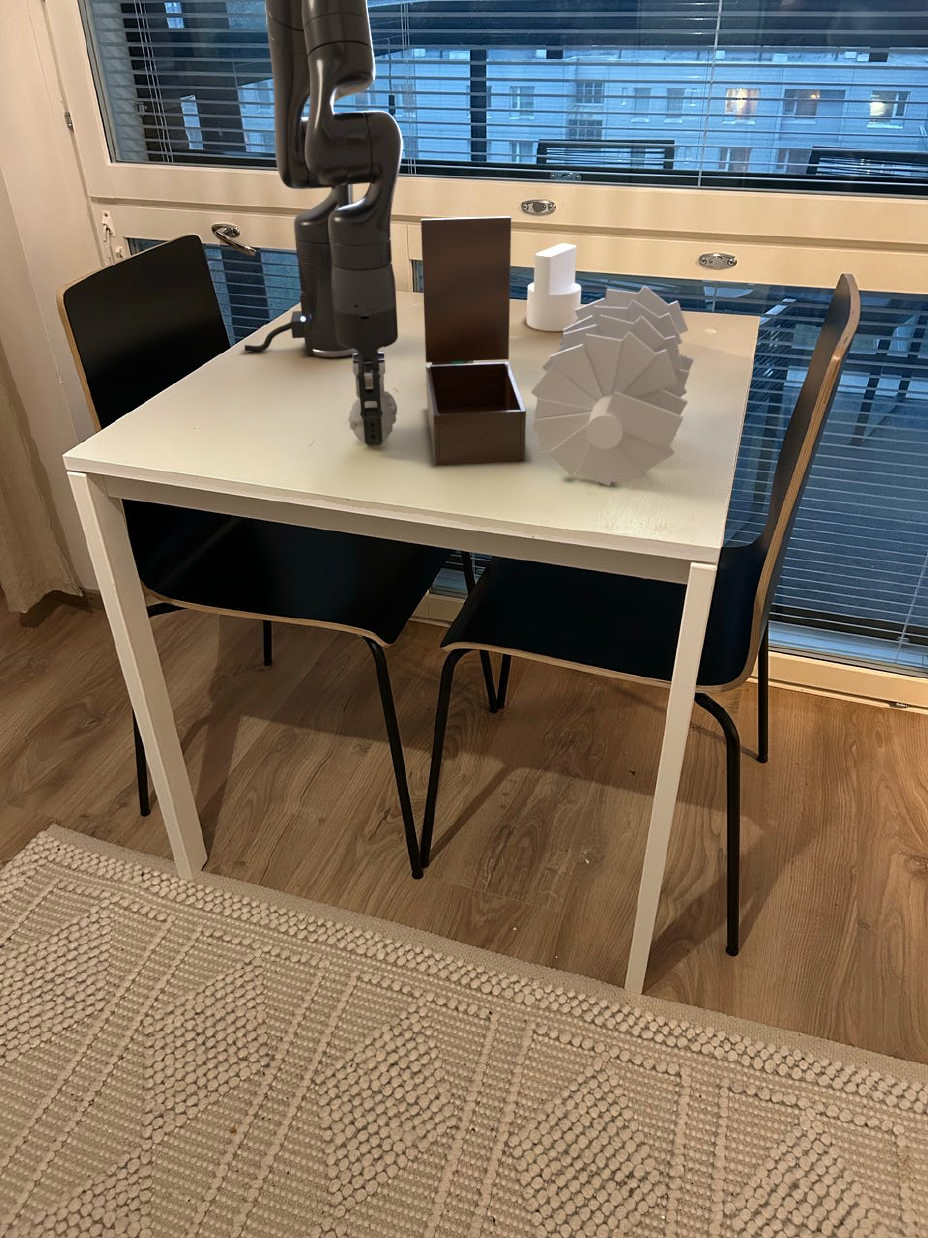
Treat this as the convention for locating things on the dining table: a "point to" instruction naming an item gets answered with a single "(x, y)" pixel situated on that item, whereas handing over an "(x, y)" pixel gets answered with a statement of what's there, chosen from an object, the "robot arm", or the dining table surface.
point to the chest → (475, 414)
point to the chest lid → (466, 288)
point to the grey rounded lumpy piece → (387, 418)
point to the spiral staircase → (614, 388)
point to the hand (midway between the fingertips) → (373, 432)
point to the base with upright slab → (554, 289)
